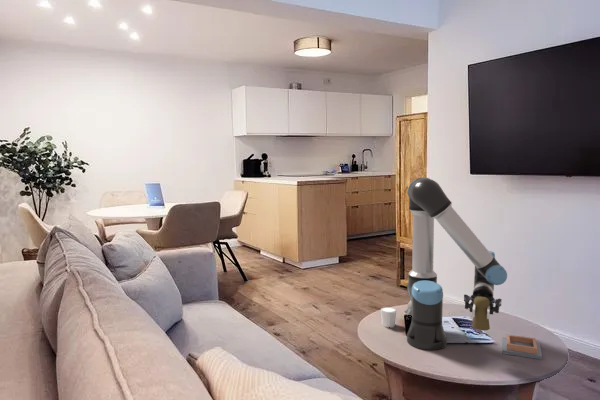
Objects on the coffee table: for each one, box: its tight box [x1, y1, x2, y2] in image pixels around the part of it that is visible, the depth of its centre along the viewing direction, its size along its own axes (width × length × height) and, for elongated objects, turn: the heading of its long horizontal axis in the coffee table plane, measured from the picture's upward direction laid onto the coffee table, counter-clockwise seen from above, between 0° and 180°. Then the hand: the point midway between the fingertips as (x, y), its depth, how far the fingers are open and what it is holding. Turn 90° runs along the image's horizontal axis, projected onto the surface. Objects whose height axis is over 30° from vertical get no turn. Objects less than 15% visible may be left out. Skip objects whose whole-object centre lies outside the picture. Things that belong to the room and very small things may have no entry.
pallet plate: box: [501, 334, 543, 360], centre depth 167 cm, size 13×13×3 cm
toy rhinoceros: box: [404, 299, 412, 316], centre depth 201 cm, size 7×12×8 cm, turn 90°
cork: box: [471, 297, 491, 331], centre depth 157 cm, size 6×6×11 cm
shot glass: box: [380, 306, 397, 328], centre depth 192 cm, size 7×7×7 cm
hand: (480, 314), depth 152 cm, fingers closed on cork, 4 cm apart
